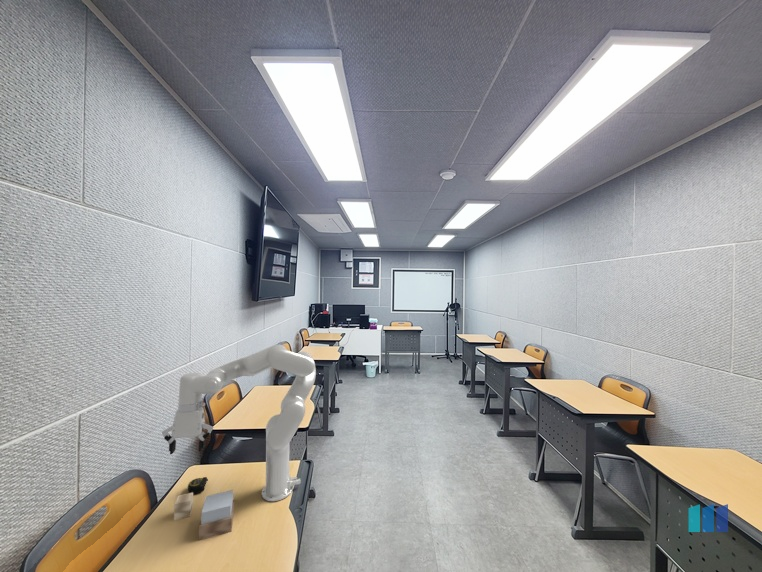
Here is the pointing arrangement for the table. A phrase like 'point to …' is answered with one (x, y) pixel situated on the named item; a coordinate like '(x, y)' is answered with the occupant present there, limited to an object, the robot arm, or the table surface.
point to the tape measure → (197, 485)
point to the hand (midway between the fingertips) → (186, 451)
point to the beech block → (183, 506)
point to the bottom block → (216, 527)
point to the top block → (217, 507)
